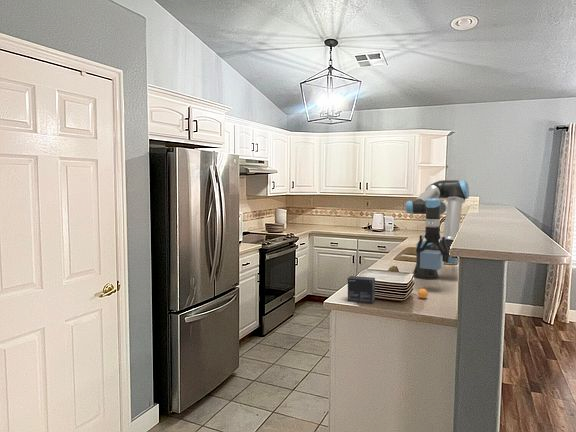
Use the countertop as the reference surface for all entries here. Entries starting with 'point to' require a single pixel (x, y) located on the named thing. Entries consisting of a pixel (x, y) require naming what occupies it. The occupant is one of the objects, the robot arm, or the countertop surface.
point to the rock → (393, 269)
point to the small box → (361, 289)
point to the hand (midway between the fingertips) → (431, 265)
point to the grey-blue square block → (430, 259)
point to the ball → (422, 293)
